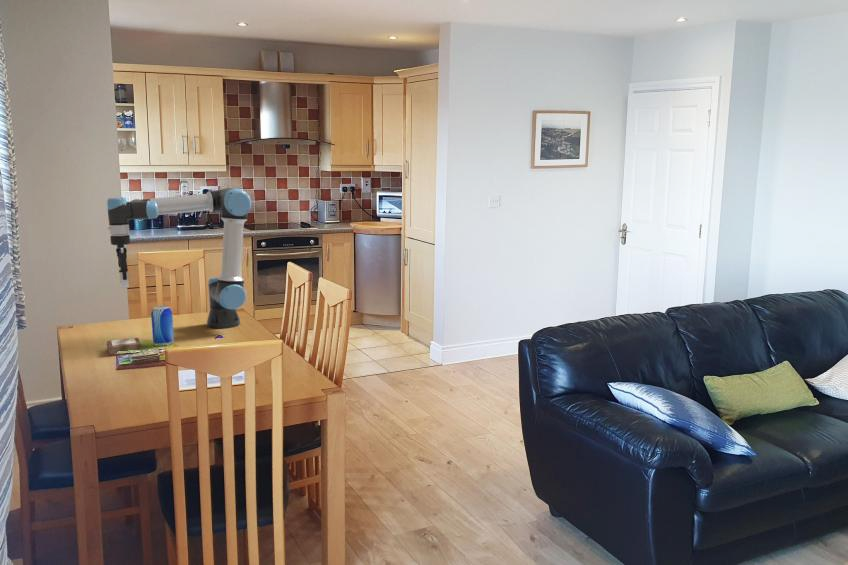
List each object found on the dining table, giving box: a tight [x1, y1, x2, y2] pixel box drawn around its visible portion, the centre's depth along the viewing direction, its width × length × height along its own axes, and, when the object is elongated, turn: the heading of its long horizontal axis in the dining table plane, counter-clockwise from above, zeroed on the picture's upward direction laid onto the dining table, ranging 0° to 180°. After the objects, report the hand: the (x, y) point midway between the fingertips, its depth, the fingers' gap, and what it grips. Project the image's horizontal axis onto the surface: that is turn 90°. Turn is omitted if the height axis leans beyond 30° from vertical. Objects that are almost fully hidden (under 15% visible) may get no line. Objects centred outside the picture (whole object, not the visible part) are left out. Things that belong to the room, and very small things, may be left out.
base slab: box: [106, 337, 142, 357], centre depth 298 cm, size 12×12×4 cm
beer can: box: [150, 305, 175, 346], centre depth 307 cm, size 8×8×16 cm
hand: (124, 284), depth 305 cm, fingers open, 13 cm apart
